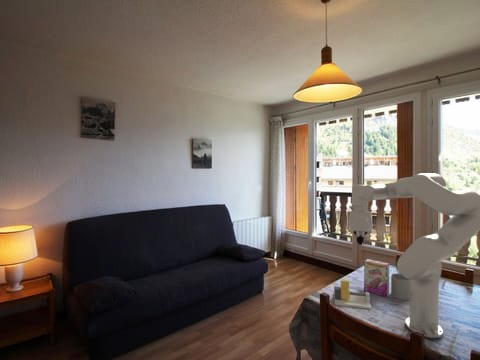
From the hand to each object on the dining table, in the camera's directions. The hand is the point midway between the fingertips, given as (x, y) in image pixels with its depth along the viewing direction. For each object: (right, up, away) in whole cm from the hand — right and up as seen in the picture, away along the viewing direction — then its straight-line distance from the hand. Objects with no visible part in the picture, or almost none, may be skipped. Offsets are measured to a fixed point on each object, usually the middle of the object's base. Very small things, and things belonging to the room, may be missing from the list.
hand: (360, 243), depth 130 cm
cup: (+21, -27, 0) cm, 34 cm away
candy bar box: (+11, -27, +4) cm, 29 cm away
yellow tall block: (-9, -26, -4) cm, 27 cm away
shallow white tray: (-6, -27, -4) cm, 28 cm away
